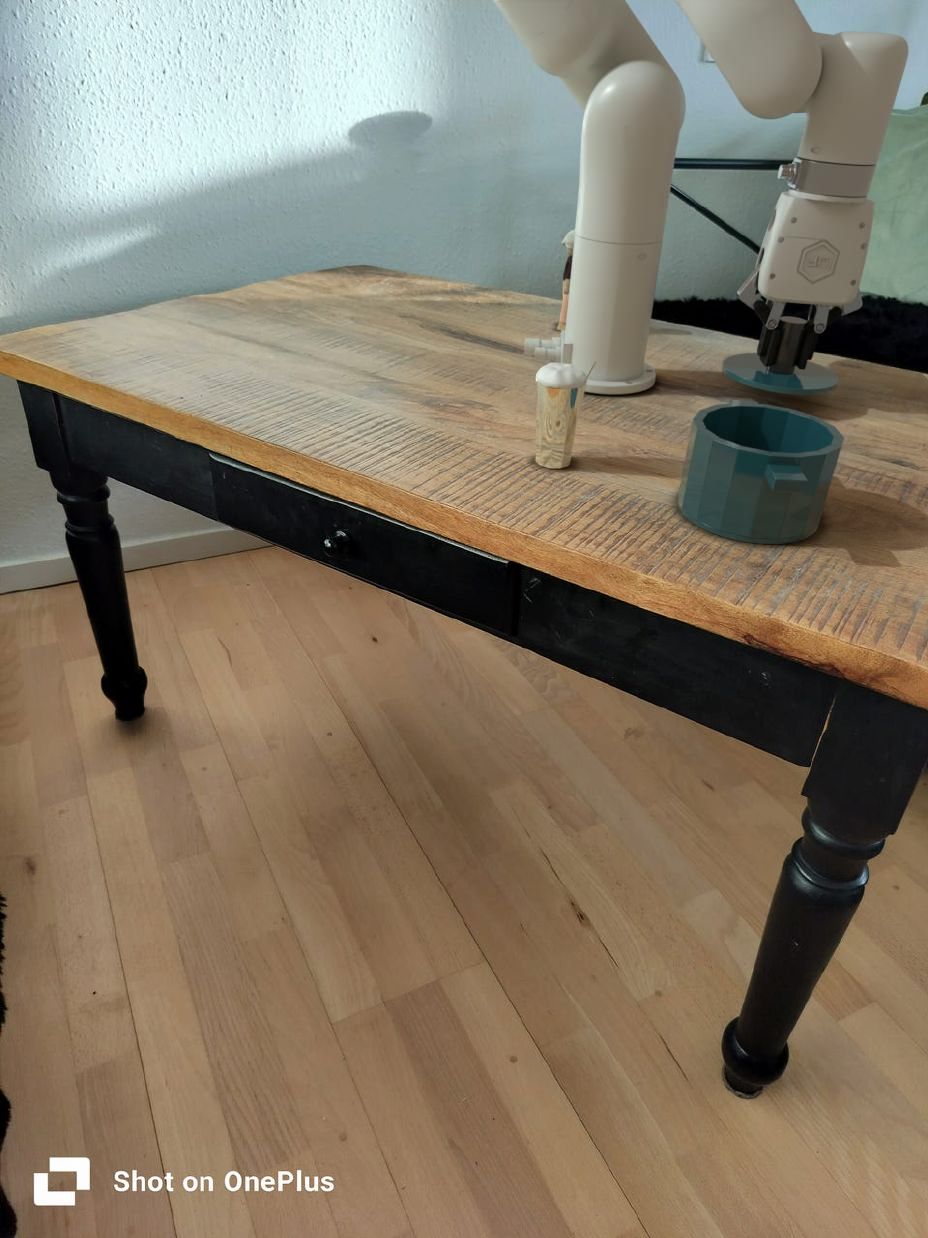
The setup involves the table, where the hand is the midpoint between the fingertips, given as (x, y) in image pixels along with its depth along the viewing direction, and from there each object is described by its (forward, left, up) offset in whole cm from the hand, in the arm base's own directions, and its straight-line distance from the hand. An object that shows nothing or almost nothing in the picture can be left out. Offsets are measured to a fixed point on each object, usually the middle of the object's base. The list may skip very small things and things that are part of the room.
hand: (782, 362), depth 96 cm
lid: (0, 0, -1) cm, 1 cm away
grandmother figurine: (-22, +26, -4) cm, 35 cm away
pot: (-9, -30, -4) cm, 32 cm away
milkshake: (-25, -22, -4) cm, 34 cm away
